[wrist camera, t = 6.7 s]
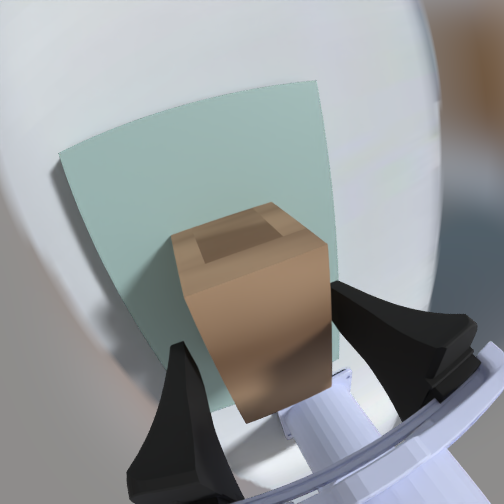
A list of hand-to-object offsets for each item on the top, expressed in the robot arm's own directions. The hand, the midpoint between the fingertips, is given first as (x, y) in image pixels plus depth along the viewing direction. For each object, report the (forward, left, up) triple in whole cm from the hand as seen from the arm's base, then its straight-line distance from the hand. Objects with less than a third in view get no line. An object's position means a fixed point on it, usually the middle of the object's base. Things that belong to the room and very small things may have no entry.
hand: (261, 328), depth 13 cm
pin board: (0, 0, -4) cm, 4 cm away
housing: (0, 0, -3) cm, 3 cm away
